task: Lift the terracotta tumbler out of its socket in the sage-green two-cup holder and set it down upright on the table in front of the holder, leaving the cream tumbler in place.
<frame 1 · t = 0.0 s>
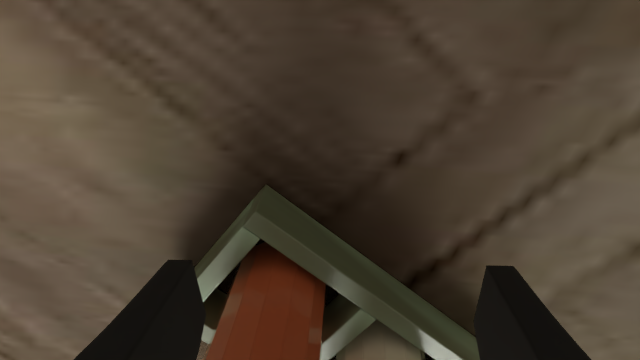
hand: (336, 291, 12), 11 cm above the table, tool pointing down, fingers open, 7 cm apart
terracotta tumbler: (282, 277, 25), resting in cup holder
cream tumbler: (378, 343, 26), resting in cup holder
cup holder: (331, 311, 25), on the table
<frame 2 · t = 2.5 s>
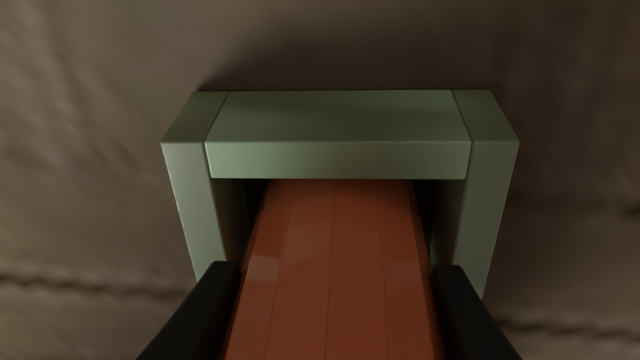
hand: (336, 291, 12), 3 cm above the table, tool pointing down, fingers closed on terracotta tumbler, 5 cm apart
terracotta tumbler: (338, 206, 15), resting in cup holder, touching gripper
cup holder: (341, 283, 16), on the table
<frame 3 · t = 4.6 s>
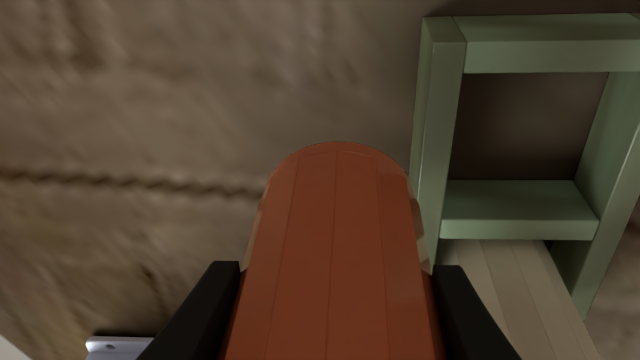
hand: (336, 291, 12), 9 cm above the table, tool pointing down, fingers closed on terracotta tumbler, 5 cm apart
terracotta tumbler: (338, 206, 15), point 5 cm above the table, touching gripper
cream tumbler: (486, 247, 22), resting in cup holder
cup holder: (499, 188, 20), on the table
when the fingers open (3 cm above the table, at t = 6.7 s): terracotta tumbler stays where it is, on the table.
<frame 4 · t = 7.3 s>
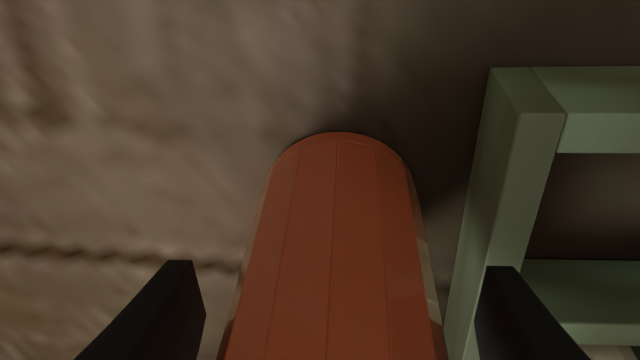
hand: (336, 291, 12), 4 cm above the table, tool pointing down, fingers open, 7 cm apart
terracotta tumbler: (339, 195, 15), on the table
cream tumbler: (545, 332, 18), resting in cup holder
cup holder: (568, 269, 16), on the table
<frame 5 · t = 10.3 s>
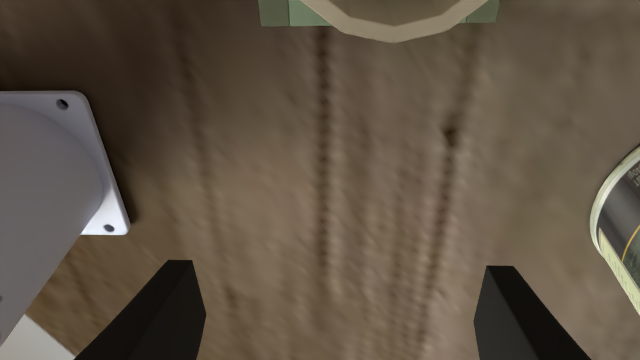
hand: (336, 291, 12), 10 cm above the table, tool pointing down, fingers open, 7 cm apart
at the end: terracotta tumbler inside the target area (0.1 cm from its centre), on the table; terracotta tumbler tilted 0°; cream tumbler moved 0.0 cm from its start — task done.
